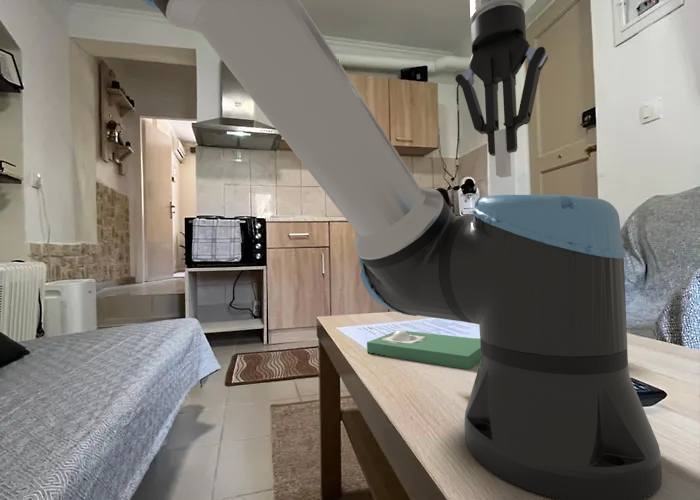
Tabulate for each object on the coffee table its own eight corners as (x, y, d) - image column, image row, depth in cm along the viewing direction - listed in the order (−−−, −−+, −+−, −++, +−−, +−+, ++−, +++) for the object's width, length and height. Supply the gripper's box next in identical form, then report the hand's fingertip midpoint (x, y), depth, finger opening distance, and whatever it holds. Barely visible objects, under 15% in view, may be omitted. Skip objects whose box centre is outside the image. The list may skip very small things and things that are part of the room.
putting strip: (468, 369, 56) (468, 356, 56) (367, 352, 68) (366, 342, 68) (491, 351, 66) (490, 340, 66) (399, 339, 77) (398, 330, 77)
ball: (408, 353, 69) (408, 343, 67) (390, 351, 70) (389, 340, 68) (411, 338, 72) (411, 327, 69) (394, 336, 73) (393, 325, 71)
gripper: (550, 13, 54) (557, 172, 53) (463, 46, 61) (468, 185, 61) (540, -17, 48) (548, 162, 47) (445, 24, 55) (452, 178, 55)
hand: (503, 175), depth 54 cm, fingers closed
